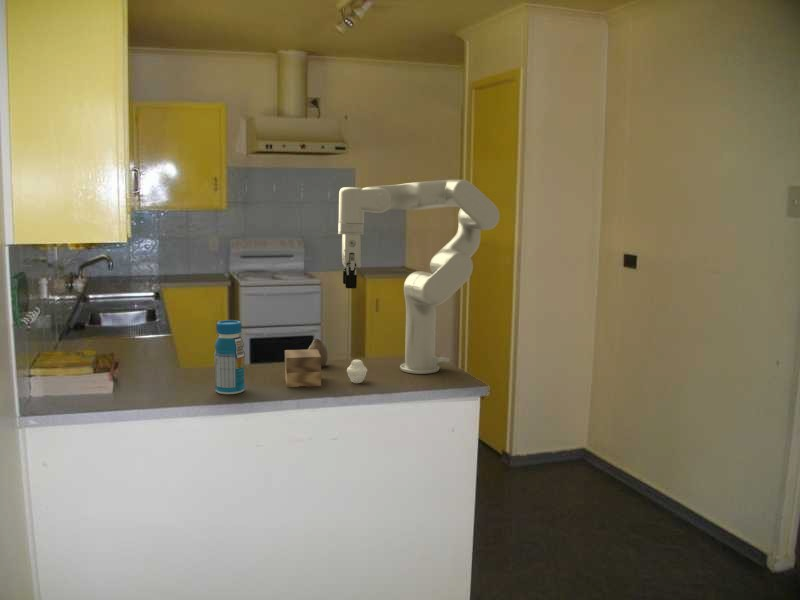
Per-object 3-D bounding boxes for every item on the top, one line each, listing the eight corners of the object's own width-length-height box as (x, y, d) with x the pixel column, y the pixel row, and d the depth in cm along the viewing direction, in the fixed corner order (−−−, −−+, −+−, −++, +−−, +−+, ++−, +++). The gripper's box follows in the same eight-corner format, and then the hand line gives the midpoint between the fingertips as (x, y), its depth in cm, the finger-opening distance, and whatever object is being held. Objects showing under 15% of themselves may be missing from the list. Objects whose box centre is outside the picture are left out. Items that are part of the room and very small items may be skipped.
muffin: (365, 378, 231) (366, 356, 230) (368, 384, 225) (368, 361, 224) (345, 379, 230) (345, 357, 229) (347, 384, 224) (347, 361, 223)
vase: (324, 369, 242) (324, 342, 241) (303, 367, 243) (303, 341, 242) (330, 364, 249) (330, 338, 247) (310, 362, 250) (310, 336, 249)
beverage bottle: (217, 396, 210) (216, 325, 207) (212, 388, 218) (211, 320, 215) (248, 393, 214) (247, 323, 210) (241, 385, 221) (240, 318, 218)
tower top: (317, 363, 232) (317, 349, 231) (321, 371, 222) (321, 356, 221) (284, 364, 230) (284, 350, 229) (286, 373, 220) (286, 357, 219)
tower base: (318, 378, 232) (318, 363, 232) (321, 386, 223) (321, 371, 222) (285, 379, 230) (285, 364, 230) (286, 388, 221) (286, 373, 220)
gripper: (366, 231, 218) (364, 290, 221) (360, 227, 235) (359, 282, 238) (340, 230, 217) (339, 289, 219) (336, 227, 234) (335, 282, 236)
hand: (349, 286), depth 229 cm, fingers open, 9 cm apart
